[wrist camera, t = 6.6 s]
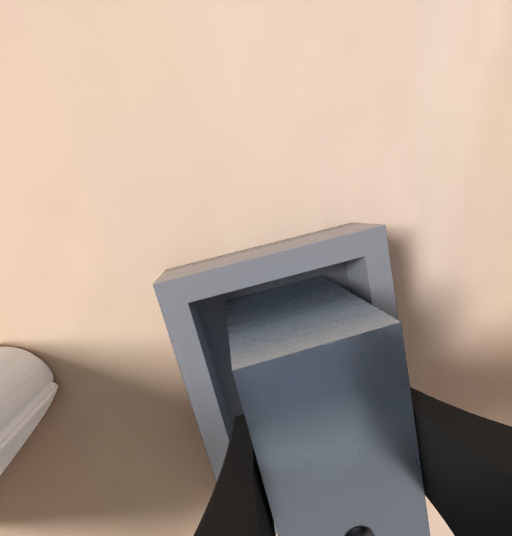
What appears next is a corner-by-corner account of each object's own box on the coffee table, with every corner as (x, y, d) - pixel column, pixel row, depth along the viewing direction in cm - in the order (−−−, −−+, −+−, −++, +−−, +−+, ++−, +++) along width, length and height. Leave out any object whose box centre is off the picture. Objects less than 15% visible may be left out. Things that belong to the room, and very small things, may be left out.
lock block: (320, 274, 13) (402, 322, 8) (348, 422, 15) (434, 555, 9) (224, 300, 13) (232, 371, 7) (264, 448, 15) (297, 605, 9)
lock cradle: (352, 222, 14) (385, 224, 11) (387, 439, 17) (421, 484, 14) (165, 269, 13) (152, 284, 11) (233, 489, 16) (236, 547, 13)
